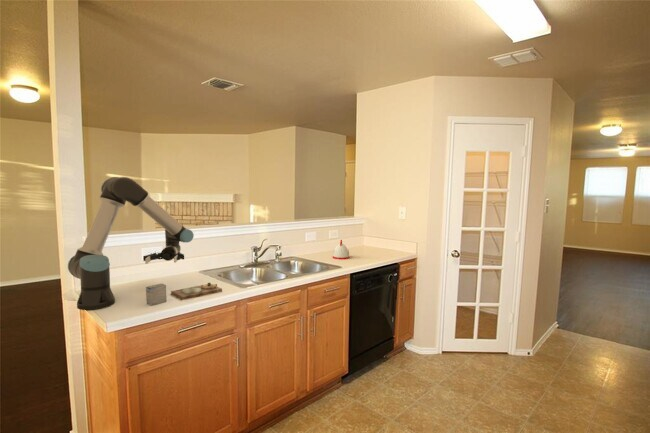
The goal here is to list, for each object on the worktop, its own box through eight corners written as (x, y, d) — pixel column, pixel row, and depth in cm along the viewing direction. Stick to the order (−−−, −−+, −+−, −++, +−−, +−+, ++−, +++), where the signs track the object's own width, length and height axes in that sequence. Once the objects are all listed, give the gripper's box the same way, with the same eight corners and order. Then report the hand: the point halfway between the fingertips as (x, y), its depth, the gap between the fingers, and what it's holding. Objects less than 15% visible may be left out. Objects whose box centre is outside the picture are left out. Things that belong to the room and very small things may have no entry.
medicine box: (161, 300, 175) (161, 283, 175) (166, 301, 173) (166, 284, 172) (146, 304, 169) (145, 286, 168) (151, 306, 166) (150, 288, 166)
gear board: (182, 300, 175) (181, 292, 175) (171, 293, 185) (170, 286, 185) (222, 291, 191) (222, 284, 191) (210, 286, 201) (210, 279, 201)
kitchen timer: (349, 256, 295) (350, 239, 294) (348, 259, 281) (349, 241, 280) (333, 256, 297) (333, 238, 296) (331, 259, 283) (331, 240, 282)
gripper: (192, 258, 203) (186, 266, 182) (145, 260, 197) (134, 269, 176) (192, 245, 202) (186, 252, 181) (145, 247, 196) (133, 254, 176)
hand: (160, 260), depth 179 cm, fingers open, 13 cm apart
